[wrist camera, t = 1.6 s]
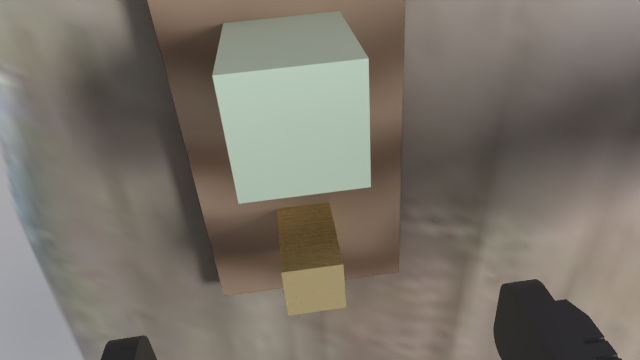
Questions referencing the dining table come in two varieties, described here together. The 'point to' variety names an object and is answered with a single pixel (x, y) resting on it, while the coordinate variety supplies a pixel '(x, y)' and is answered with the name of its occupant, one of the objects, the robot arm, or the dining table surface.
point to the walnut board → (261, 217)
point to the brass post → (310, 259)
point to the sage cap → (294, 106)
